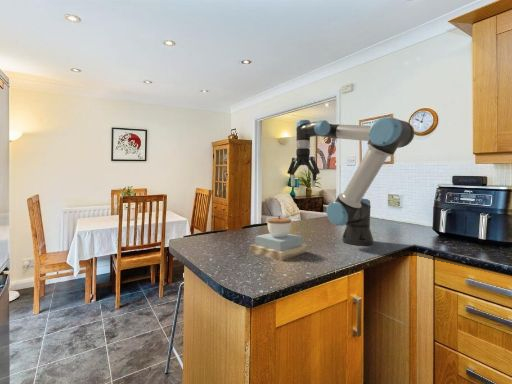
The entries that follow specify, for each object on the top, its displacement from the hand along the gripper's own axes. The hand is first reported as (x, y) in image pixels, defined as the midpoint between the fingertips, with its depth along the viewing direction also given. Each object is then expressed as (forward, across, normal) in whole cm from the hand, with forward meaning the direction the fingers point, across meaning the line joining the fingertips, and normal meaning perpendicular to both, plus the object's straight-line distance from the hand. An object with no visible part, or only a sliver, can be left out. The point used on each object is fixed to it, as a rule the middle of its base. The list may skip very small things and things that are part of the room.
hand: (302, 186), depth 155 cm
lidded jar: (+22, +11, -34) cm, 42 cm away
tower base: (+29, +11, -34) cm, 47 cm away
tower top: (+26, +11, -34) cm, 44 cm away
